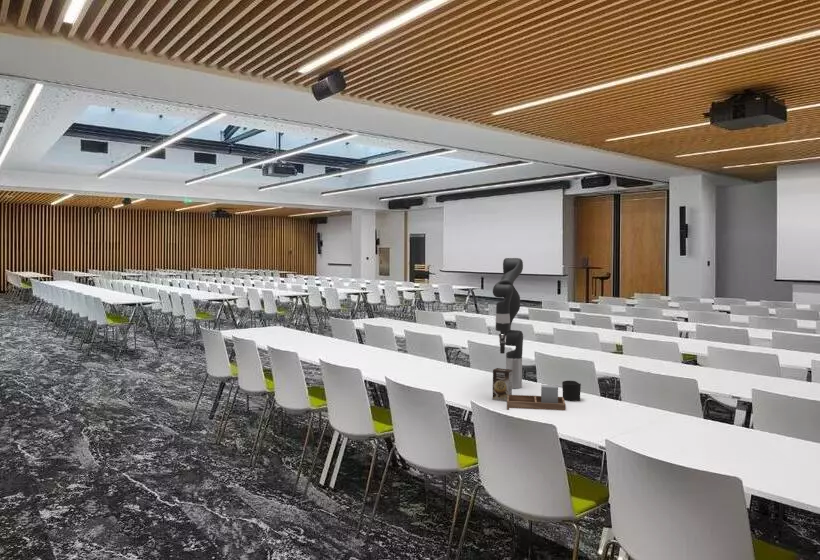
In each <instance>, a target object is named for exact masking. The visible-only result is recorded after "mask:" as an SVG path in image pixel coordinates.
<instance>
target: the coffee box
mask: <svg viewBox="0 0 820 560" xmlns="http://www.w3.org/2000/svg"><path fill="white" fill-rule="evenodd" d="M507 395H513V388H512V370H510V369H506V368H498V367H496V368H494V369H493V370H492V400H494V399H495V401H501V402H502V401H503V402H507Z"/></svg>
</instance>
